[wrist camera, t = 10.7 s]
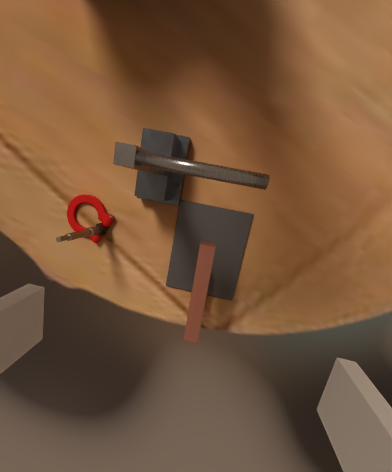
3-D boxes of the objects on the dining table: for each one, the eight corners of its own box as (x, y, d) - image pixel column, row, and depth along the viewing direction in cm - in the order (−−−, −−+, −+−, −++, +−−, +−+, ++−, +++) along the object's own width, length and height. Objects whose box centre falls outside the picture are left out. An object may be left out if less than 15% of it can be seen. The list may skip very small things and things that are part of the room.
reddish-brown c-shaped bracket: (200, 244, 34) (183, 340, 38) (215, 247, 34) (197, 343, 37) (204, 232, 43) (191, 310, 47) (217, 234, 43) (202, 312, 47)
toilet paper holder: (148, 132, 41) (95, 89, 24) (256, 151, 40) (283, 121, 22) (140, 197, 44) (86, 201, 26) (241, 217, 42) (254, 236, 25)
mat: (180, 200, 43) (180, 200, 43) (253, 214, 42) (253, 214, 42) (166, 284, 47) (165, 285, 46) (231, 300, 46) (232, 300, 45)
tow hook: (63, 218, 47) (97, 246, 47) (3, 225, 34) (49, 263, 34) (83, 186, 45) (119, 214, 45) (27, 181, 33) (76, 221, 32)
